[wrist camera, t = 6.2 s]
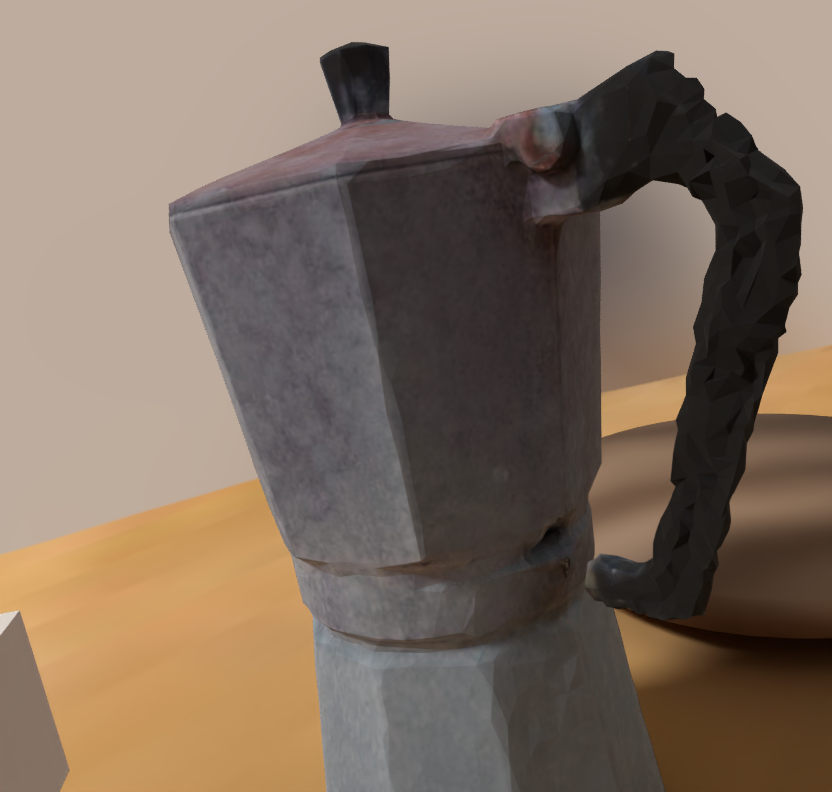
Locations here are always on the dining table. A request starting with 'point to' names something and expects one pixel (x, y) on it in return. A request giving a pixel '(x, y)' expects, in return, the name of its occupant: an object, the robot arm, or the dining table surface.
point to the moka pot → (480, 411)
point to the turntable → (736, 523)
